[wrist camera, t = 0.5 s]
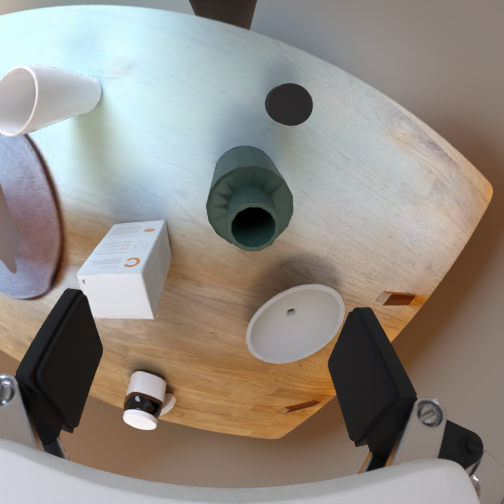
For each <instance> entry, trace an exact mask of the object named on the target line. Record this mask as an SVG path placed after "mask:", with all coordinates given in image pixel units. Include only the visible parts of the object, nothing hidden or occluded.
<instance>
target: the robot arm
mask: <svg viewBox="0 0 504 504" xmlns="http://www.w3.org/2000/svg"><path fill="white" fill-rule="evenodd" d="M102 353H103V347H102V343H101V340H100V337H99V334H98V331H97V328H96V325H95V322H94V319H93V315H92V312H91V308H90V305H89V301H88V298H87V296H86V295H84V293H83V291H82V290H77V289H70V288H68V289H66V290H65V291H64V293H63V294H62V296H61V297H60V299H59V300H58V302H57V303H56V305H55V306H54V308H53V309H52V311H51V312H50V314H49V315H48V317H47V318H46V320H45V322H44V323H43V325H42V326H41V328H40V330H39V331H38V333H37V335H36V336H35V338H34V340H33V342H32V343H31V345H30V347H29V349H28V350H27V352H26V354H25V356H24V358H23V359H22V361H21V363H20V365H19V367H18V369H17V371H16V376H15V378H14V377H13V376H11V375H10V374H5V373H4V374H0V504H503V502H504V465H503V464H501V463H500V462H499V461H498V460H497V459H496V458H495V457H494V456H493V455H492V454H490V453H489V452H488V451H487V450H485V451H484V452H483V443H482V440H481V438H480V437H479V436H478V435H477V434H476V433H474V432H472V431H470V430H468V429H465V428H463V427H461V426H459V425H457V424H455V423H453V422H451V421H449V420H447V413H446V410H445V408H444V406H443V404H442V403H441V402H440V401H439V400H437V399H435V398H433V397H430V396H426V397H425V396H424V397H421V398H419V399H417V397H416V395H417V394H416V392H415V390H414V388H413V386H412V384H411V381H410V380H409V377H408V376H407V373H406V372H405V369H404V368H403V366H402V364H401V362H400V360H399V358H398V356H397V354H396V352H395V350H394V348H393V347H392V345H391V343H390V341H389V339H388V337H387V335H386V334H385V332H384V330H383V328H382V326H381V325H380V323H379V321H378V319H377V318H376V316H375V314H374V312H373V311H372V309H371V308H369V307H361V308H354V309H353V311H352V312H349V314H348V316H347V319H346V321H345V323H344V326H343V328H342V331H341V333H340V335H339V338H338V340H337V342H336V344H335V347H334V349H333V351H332V353H331V356H330V358H329V361H328V368H329V371H330V374H331V378H332V381H333V384H334V387H335V390H336V394H337V397H338V400H339V404H340V407H341V410H342V414H343V417H344V420H345V424H346V427H347V431H348V434H349V438H350V439H351V440H352V441H354V442H355V446H356V447H358V446H363V445H367V444H368V447H369V450H370V452H369V453H368V455H367V458H366V459H365V461H364V463H363V465H362V467H361V469H360V471H359V473H358V474H356V475H351V476H347V477H341V478H336V479H331V480H326V481H320V482H314V483H306V484H299V485H290V486H279V487H264V488H207V487H193V486H182V485H172V484H165V483H158V482H152V481H146V480H140V479H135V478H130V477H125V476H121V475H116V474H113V473H109V472H105V471H101V470H98V469H94V468H91V467H87V466H84V465H81V464H78V463H74V462H71V461H70V459H69V457H68V455H67V453H66V451H65V448H64V446H63V444H62V442H61V439H60V437H59V435H60V431H61V430H64V431H67V432H70V433H73V430H74V427H77V426H78V425H79V422H80V419H81V415H82V412H83V409H84V405H85V402H86V399H87V396H88V393H89V390H90V387H91V384H92V382H93V379H94V376H95V373H96V370H97V368H98V365H99V362H100V359H101V357H102Z"/></svg>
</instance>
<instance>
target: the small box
mask: <svg viewBox="0 0 504 504" xmlns="http://www.w3.org/2000/svg"><path fill="white" fill-rule="evenodd" d="M171 261H172V255H171V249H170V243H169V237H168V231H167V225H166V220H155V221H143V222H131V223H121V224H114V226H113V227H112V228H111V229H110V231H109V232H108V233H107V234H106V236H105V237H104V238H103V239H102V241H101V242H100V243H99V245H98V246H97V247H96V248H95V250H94V251H93V252H92V254H91V255H90V256H89V258H88V259H87V260H86V262H85V263H84V264H83V266H82V267H81V269H80V270H79V271H78V273H77V274H76V277H77V279H78V282H79V285H80V287H81V290H82V291H83V293H84V295H86V296H87V298H88V301H89V305H90V308H91V312H92V315H93V317H94V318H102V319H154V318H155V315H156V311H157V307H158V304H159V301H160V297H161V294H162V290H163V287H164V283H165V280H166V277H167V274H168V270H169V267H170V264H171Z"/></svg>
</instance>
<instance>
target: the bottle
mask: <svg viewBox="0 0 504 504" xmlns="http://www.w3.org/2000/svg"><path fill="white" fill-rule="evenodd" d="M206 209H207V215H208V220H209V223H210V224H211V226H212V227H213V229H214V230H215V232H216V233H217V234H218V235H219V236H220V237H222V238H223V239H225V240H226V241H228V242H229V243H231V244H234V245H235V246H237V247H239V248H241V249H243V250H245V251H260V250H262V249H264V248H266V247H268V246H270V245H272V243H273V242H274V240H275V239H276V238H277V237H278V236H279V235H280V234H281V233H282V232H283V231H284V230H285V229H286V228H287V226H288V224H289V222H290V219H291V216H292V214H293V196H292V194H291V192H290V190H289V188H288V186H287V184H286V182H285V180H284V179H283V177H282V176H281V174H280V173H279V171H278V169H277V168H276V167H275V165H274V164H273V162H272V161H271V159H270V158H269V156H267V155H266V154H265V153H264V152H263V151H261V150H260V149H257V148H255V147H251V146H239V147H235V148H232V149H230V150H229V151H227V152H226V153H224V154H223V156H222V157H221V158H220V159H219V161H218V162H217V165H216V168H215V172H214V176H213V179H212V183H211V187H210V191H209V195H208V199H207V203H206Z"/></svg>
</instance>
